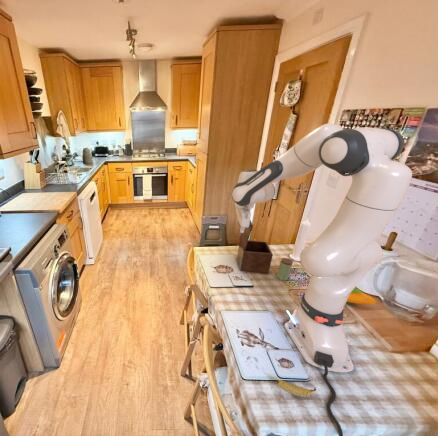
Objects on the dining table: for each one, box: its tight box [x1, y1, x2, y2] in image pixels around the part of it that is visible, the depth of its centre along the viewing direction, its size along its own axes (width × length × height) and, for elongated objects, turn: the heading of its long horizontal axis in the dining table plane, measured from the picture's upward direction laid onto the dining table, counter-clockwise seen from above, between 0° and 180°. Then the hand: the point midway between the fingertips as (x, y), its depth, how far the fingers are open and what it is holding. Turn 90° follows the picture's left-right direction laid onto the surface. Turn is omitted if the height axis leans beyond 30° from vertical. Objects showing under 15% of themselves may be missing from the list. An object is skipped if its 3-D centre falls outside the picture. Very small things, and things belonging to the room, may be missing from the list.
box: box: [236, 239, 273, 275], centre depth 123 cm, size 14×13×12 cm
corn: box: [345, 287, 378, 306], centre depth 99 cm, size 7×8×20 cm
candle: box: [289, 217, 312, 262], centre depth 125 cm, size 7×7×25 cm
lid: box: [238, 219, 254, 251], centre depth 119 cm, size 14×13×5 cm
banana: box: [276, 379, 317, 398], centre depth 67 cm, size 10×2×4 cm, turn 77°
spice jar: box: [276, 257, 294, 281], centre depth 113 cm, size 5×5×10 cm
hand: (240, 227), depth 118 cm, fingers open, 8 cm apart
